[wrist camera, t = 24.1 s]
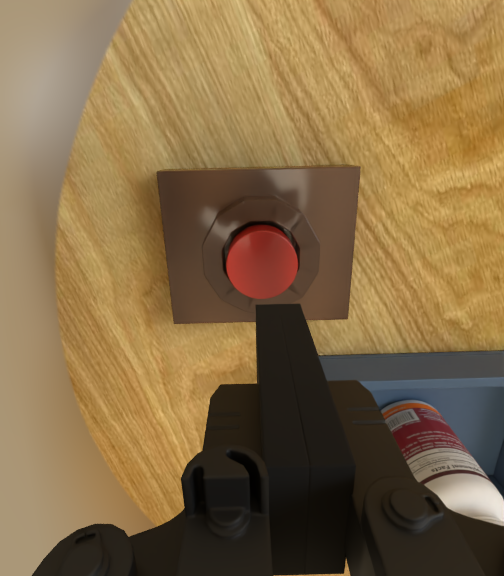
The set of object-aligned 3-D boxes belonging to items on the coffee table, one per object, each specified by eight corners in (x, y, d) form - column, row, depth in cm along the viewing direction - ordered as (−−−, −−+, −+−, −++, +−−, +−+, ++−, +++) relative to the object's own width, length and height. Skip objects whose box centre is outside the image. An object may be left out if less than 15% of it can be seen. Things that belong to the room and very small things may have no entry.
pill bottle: (419, 460, 31) (503, 610, 21) (355, 445, 31) (411, 593, 20) (453, 405, 29) (566, 543, 19) (385, 388, 29) (465, 521, 18)
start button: (229, 289, 22) (227, 300, 20) (225, 225, 21) (224, 231, 19) (293, 287, 22) (297, 298, 20) (294, 223, 21) (299, 229, 19)
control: (179, 310, 26) (168, 337, 23) (164, 169, 23) (148, 173, 19) (340, 306, 26) (355, 332, 23) (350, 164, 23) (371, 167, 19)
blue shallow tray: (286, 482, 33) (290, 519, 30) (288, 356, 28) (294, 383, 25) (496, 476, 33) (523, 511, 30) (535, 349, 28) (573, 375, 25)
